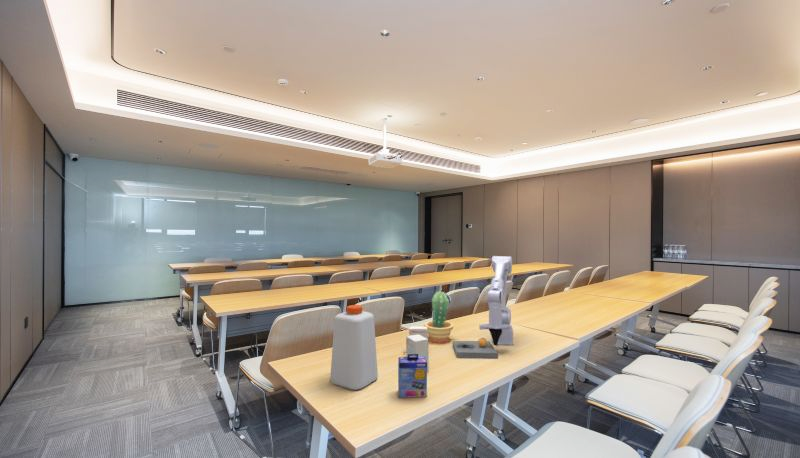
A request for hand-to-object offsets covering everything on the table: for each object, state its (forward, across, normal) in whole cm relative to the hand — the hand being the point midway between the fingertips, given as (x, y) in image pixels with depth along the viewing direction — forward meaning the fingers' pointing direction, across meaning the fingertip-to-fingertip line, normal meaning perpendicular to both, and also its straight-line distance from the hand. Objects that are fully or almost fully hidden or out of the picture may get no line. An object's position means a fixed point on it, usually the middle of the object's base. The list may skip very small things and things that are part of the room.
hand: (495, 344), depth 157 cm
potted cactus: (+4, -25, +17) cm, 30 cm away
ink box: (+4, -36, -2) cm, 36 cm away
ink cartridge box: (+4, -39, -42) cm, 57 cm away
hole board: (+3, -10, 0) cm, 10 cm away
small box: (+4, -37, -21) cm, 43 cm away
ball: (-1, -6, 0) cm, 6 cm away
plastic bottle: (+4, -61, -32) cm, 69 cm away
